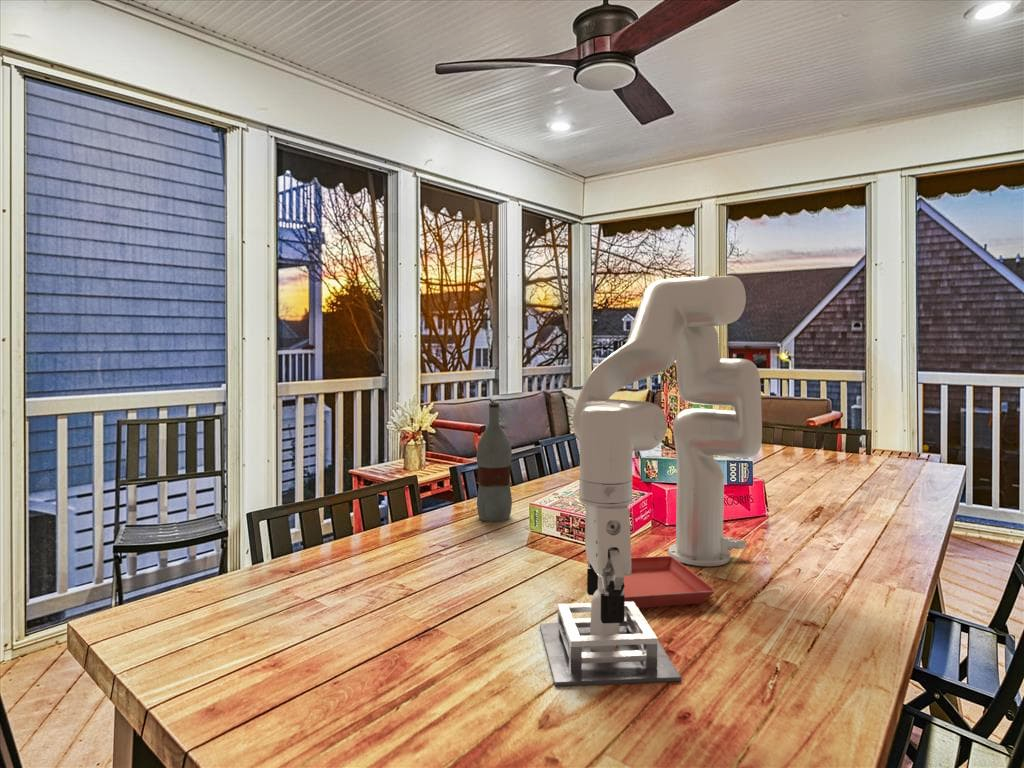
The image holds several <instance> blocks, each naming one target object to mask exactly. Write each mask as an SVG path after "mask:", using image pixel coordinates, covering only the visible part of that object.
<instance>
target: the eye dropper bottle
mask: <svg viewBox="0 0 1024 768" xmlns="http://www.w3.org/2000/svg"><path fill="white" fill-rule="evenodd" d="M605 572H610V569H609V570H605ZM610 581H613V580H612V578H607V583H608V585H609V582H610ZM601 594H603V587H602V579H601V577H600V576H599V575H598V589H597V590H596V591H595V593H594V594H593V595H591V596H592V597H591V601H590V603H591V612H590V618H591V620H590V635H613V634H619V623H602V622H601ZM616 646H617V645H613V646H590V649H591V650H593V651H596V652H607V651H612V650H613V649H614V648H616Z"/></svg>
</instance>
